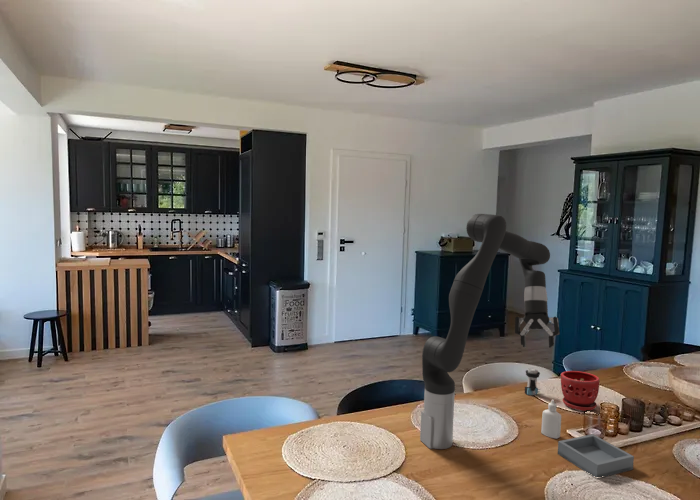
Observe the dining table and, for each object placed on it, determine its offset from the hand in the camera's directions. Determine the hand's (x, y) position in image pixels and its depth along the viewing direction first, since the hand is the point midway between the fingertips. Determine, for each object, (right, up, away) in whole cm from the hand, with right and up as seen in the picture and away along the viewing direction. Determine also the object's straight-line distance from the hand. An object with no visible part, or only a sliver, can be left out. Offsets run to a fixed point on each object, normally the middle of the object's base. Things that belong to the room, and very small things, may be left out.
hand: (537, 347), depth 162 cm
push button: (+9, -25, +28) cm, 38 cm away
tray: (+8, -29, -23) cm, 38 cm away
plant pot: (+22, -26, +17) cm, 38 cm away
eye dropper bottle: (+1, -28, -7) cm, 29 cm away
